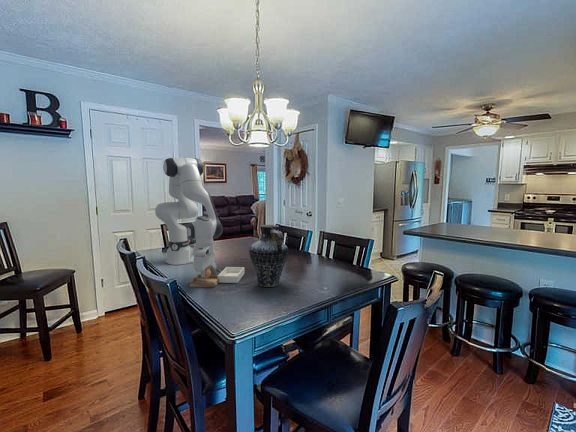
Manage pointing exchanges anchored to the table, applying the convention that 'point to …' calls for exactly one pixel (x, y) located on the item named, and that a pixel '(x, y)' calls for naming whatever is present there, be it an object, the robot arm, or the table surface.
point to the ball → (207, 273)
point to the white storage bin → (231, 275)
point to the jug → (269, 256)
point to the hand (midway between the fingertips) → (205, 275)
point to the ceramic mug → (214, 269)
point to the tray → (204, 281)
